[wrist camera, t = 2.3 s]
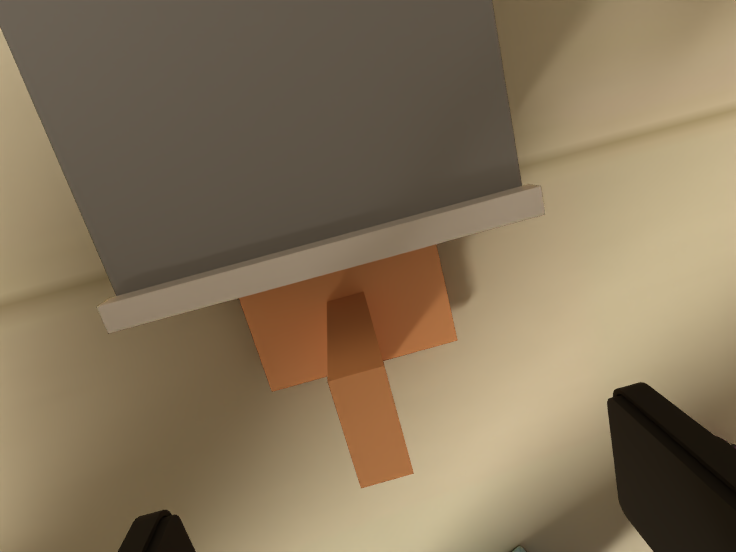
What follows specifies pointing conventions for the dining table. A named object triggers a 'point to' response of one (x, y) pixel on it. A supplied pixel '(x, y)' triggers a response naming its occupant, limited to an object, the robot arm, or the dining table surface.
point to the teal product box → (519, 549)
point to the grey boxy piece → (268, 136)
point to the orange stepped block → (355, 344)
